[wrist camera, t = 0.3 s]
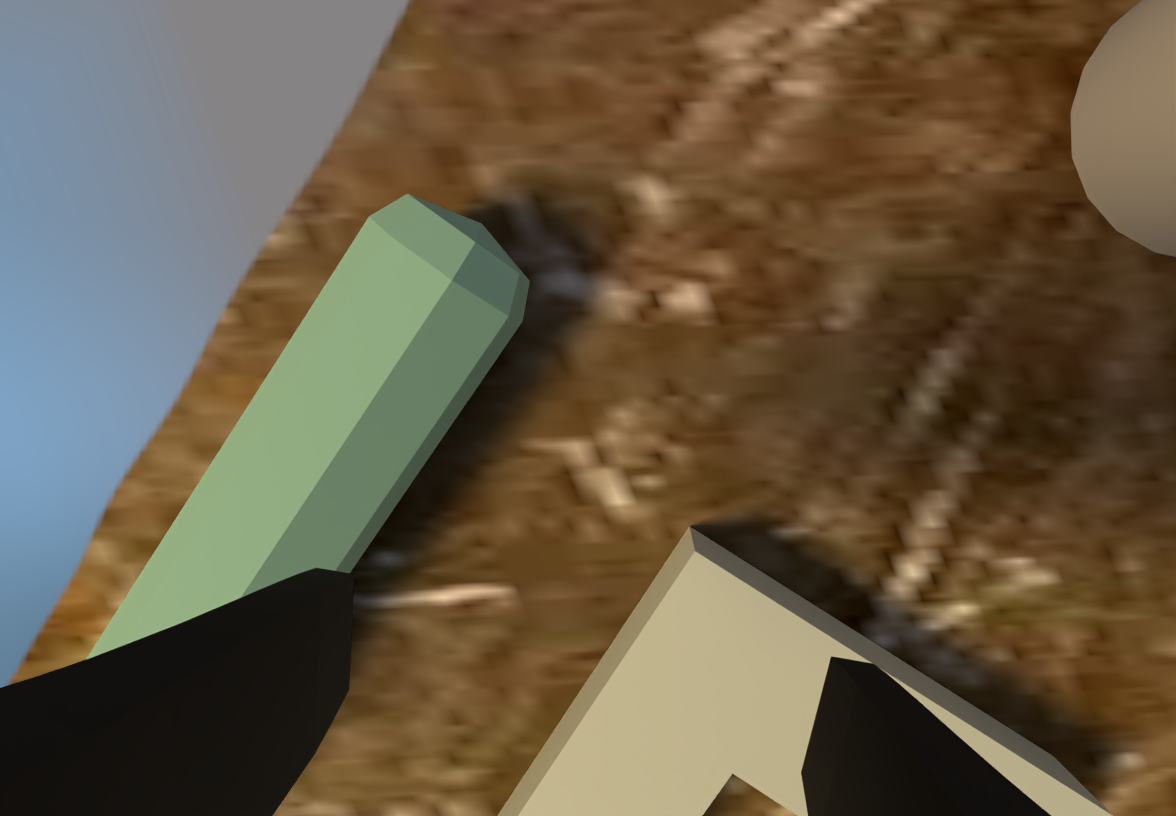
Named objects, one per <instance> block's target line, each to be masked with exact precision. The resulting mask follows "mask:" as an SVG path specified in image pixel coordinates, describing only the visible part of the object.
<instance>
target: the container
mask: <svg viewBox="0 0 1176 816" xmlns="http://www.w3.org/2000/svg"><path fill="white" fill-rule="evenodd" d="M529 283H530V281H529V279H528V278H527V277H526V276H525V275H524V273H523V272H522V271H521V270H520V269H519V268H518V266H517V265H516V264H515V263H514V262H513V260H512V259H511V258H510V257H509V256H508V254H507V253H506V252H505V251H504V250H503V248H502V247H501V246H500V245H499V244H498V242H497V241H496V240H495V239H494V238H493V236H492V235H491V234H490V233H489V232H488V230H487V229H486V228H485V227H484V226H483V224H482V223H479V222H477V221H474V220H472V219H469V218H467V217H464V216H462V215H459V214H457V213H454V212H452V211H449V210H447V209H444V208H442V207H439V206H437V205H434V204H432V203H429V202H427V201H424V200H422V199H419V198H417V197H414V196H412V195H409V194H406V195H404V196H403V197H401V198H399V199H398V200H396V201H394V202H393V203H391V204H389V205H388V206H386V207H384V208H383V209H381V210H379V211H378V212H376V213H374V214H373V215H371V216H369V218H368V219H367V221H366V222H365V224H364V225H363V227H362V229H361V230H360V232H359V233H358V235H357V236H356V238H355V239H354V241H353V243H352V244H351V246H350V247H349V249H348V250H347V252H346V254H345V255H344V257H343V258H342V260H341V261H340V263H339V264H338V266H337V268H336V269H335V271H334V272H333V274H332V275H331V277H330V279H329V280H328V282H327V283H326V285H325V286H324V288H323V290H322V291H321V293H320V294H319V296H318V297H317V299H316V300H315V302H314V304H313V305H312V307H311V308H310V310H309V311H308V313H307V315H306V316H305V318H304V319H303V321H302V322H301V324H300V325H299V327H298V329H297V330H296V332H295V333H294V335H293V336H292V338H291V340H290V341H289V343H288V344H287V346H286V347H285V349H284V350H283V352H282V354H281V355H280V357H279V358H278V360H277V361H276V363H275V365H274V366H273V368H272V369H271V371H270V372H269V374H268V375H267V377H266V379H265V380H264V382H263V383H262V385H261V386H260V388H259V390H258V391H257V393H256V394H255V396H254V397H253V399H252V401H251V402H250V404H249V405H248V407H247V408H246V410H245V411H244V413H243V415H242V416H241V418H240V419H239V421H238V422H237V424H236V426H235V427H234V429H233V430H232V432H231V433H230V435H229V436H228V438H227V440H226V441H225V443H224V444H223V446H222V447H221V449H220V451H219V452H218V454H217V455H216V457H215V458H214V460H213V461H212V463H211V465H210V466H209V468H208V469H207V471H206V472H205V474H204V476H203V477H202V479H201V480H200V482H199V483H198V485H197V487H196V488H195V490H194V491H193V493H192V494H191V496H190V497H189V499H188V501H187V502H186V504H185V505H184V507H183V508H182V510H181V512H180V513H179V515H178V516H177V518H176V519H175V521H174V522H173V524H172V526H171V527H170V529H169V530H168V532H167V533H166V535H165V537H164V538H163V540H162V541H161V543H160V544H159V546H158V547H157V549H156V551H155V552H154V554H153V555H152V557H151V558H150V560H149V562H148V563H147V565H146V566H145V568H144V569H143V571H142V572H141V574H140V576H139V577H138V579H137V580H136V582H135V583H134V585H133V587H132V588H131V590H130V591H129V593H128V594H127V596H126V598H125V599H124V601H123V602H122V604H121V605H120V607H119V608H118V610H117V612H116V613H115V615H114V616H113V618H112V619H111V621H110V623H109V624H108V626H107V627H106V629H105V630H104V632H103V633H102V635H101V637H100V638H99V640H98V641H97V643H96V644H95V646H94V648H93V649H92V651H91V652H90V654H89V655H88V657H87V658H86V659H89V658H92V657H95V656H97V655H100V654H102V653H105V652H107V651H110V650H113V649H115V648H118V647H120V646H123V645H126V644H128V643H131V642H133V641H136V640H138V639H141V638H144V637H146V636H149V635H151V634H154V633H157V632H159V631H162V630H164V629H167V628H169V627H172V626H175V625H177V624H180V623H182V622H184V621H187V620H189V619H192V618H194V617H196V616H199V615H201V614H203V613H206V612H208V611H210V610H213V609H215V608H218V607H220V606H222V605H225V604H227V603H229V602H232V601H234V600H236V599H239V598H241V597H243V596H246V595H248V594H250V593H253V592H255V591H257V590H260V589H262V588H265V587H267V586H269V585H272V584H274V583H276V582H279V581H281V580H284V579H286V578H289V577H291V576H294V575H296V574H299V573H302V572H304V571H308V570H311V569H314V568H322V569H327V570H333V571H339V572H345V573H350V572H351V571H352V569H353V568H354V566H355V565H356V563H357V562H358V561H359V559H360V558H361V556H362V555H363V553H364V552H365V550H366V549H367V547H368V546H369V544H370V543H371V542H372V540H373V539H374V537H375V536H376V534H377V533H378V531H379V530H380V528H381V527H382V526H383V524H384V523H385V521H386V520H387V518H388V517H389V515H390V514H391V512H392V511H393V509H394V508H395V507H396V505H397V504H398V502H399V501H400V499H401V498H402V496H403V495H404V493H405V492H406V491H407V489H408V488H409V486H410V485H411V483H412V482H413V480H414V479H415V477H416V476H417V475H418V473H419V472H420V470H421V469H422V467H423V466H424V464H425V463H426V461H427V460H428V458H429V457H430V456H431V454H432V453H433V451H434V450H435V448H436V447H437V445H438V444H439V442H440V441H441V440H442V438H443V437H444V435H445V434H446V432H447V431H448V429H449V428H450V426H451V425H452V423H453V422H454V421H455V419H456V418H457V416H458V415H459V413H460V412H461V410H462V409H463V407H464V406H465V405H466V403H467V402H468V400H469V399H470V397H471V396H472V394H473V393H474V391H475V390H476V389H477V387H478V386H479V384H480V383H481V381H482V380H483V378H484V377H485V375H486V374H487V372H488V371H489V370H490V368H491V367H492V365H493V364H494V362H495V361H496V359H497V358H498V356H499V355H500V354H501V352H502V351H503V349H504V348H505V346H506V345H507V343H508V342H509V340H510V339H511V337H512V336H513V335H514V333H515V332H516V330H517V329H518V327H519V326H520V324H521V323H522V321H523V316H524V311H525V305H526V300H527V294H528V289H529Z"/></svg>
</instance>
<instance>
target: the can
mask: <svg viewBox="0 0 1176 816" xmlns="http://www.w3.org/2000/svg"><path fill="white" fill-rule="evenodd" d="M1071 141H1072V159H1073V161H1074V164H1075V166H1076V169H1077V171H1078V174H1079V177H1080V179H1081V182H1082V184H1083V187H1084V189H1085V192H1086V195H1087V197H1088V199H1089V200H1090V201H1091V202H1092V203H1093V204H1094V206H1095V207H1096V208H1097V209H1098V210H1099V211H1100V213H1101V214H1102V215H1103V216H1104V217H1105V218H1106V219H1107V221H1108V222H1109V223H1110V224H1111V225H1112V226H1113V227H1114V229H1115V230H1116V231H1118V232H1120V233H1121V234H1123V235H1125V236H1127V237H1128V238H1130V239H1132V240H1134V241H1135V242H1137V243H1139V244H1141V245H1143V246H1144V247H1146V248H1148V249H1150V250H1151V251H1153V252H1155V253H1159V254H1164V255H1169V256H1174V257H1176V0H1141V1H1140V2H1139V3H1138V4H1137V5H1135V6H1134V7H1133V8H1132V9H1131V10H1130V11H1128V12H1127V13H1126V14H1125V15H1124V16H1123V17H1121V18H1120V19H1119V20H1118V21H1117V22H1116V23H1114V24H1113V25H1112V26H1111V27H1110V29H1109V30H1108V32H1107V33H1106V35H1105V36H1104V38H1103V39H1102V41H1101V42H1100V44H1099V45H1098V47H1097V48H1096V50H1095V51H1094V53H1093V54H1092V56H1091V57H1090V59H1089V60H1088V62H1087V63H1086V65H1085V66H1084V69H1083V72H1082V75H1081V79H1080V82H1079V86H1078V89H1077V92H1076V96H1075V99H1074V103H1073V106H1072V109H1071Z"/></svg>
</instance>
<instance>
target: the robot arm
mask: <svg viewBox="0 0 1176 816" xmlns="http://www.w3.org/2000/svg"><path fill="white" fill-rule="evenodd" d="M353 595H354V574H351V573H345V572H339V571H333V570H327V569H322V568H314V569H311V570H308V571H304V572H302V573H299V574H296V575H294V576H291V577H289V578H286V579H284V580H281V581H279V582H276V583H274V584H272V585H269V586H267V587H265V588H262V589H260V590H257V591H255V592H253V593H250V594H248V595H246V596H243V597H241V598H239V599H236V600H234V601H232V602H229V603H227V604H225V605H222V606H220V607H218V608H215V609H213V610H210V611H208V612H206V613H203V614H201V615H199V616H196V617H194V618H192V619H189V620H187V621H184V622H182V623H180V624H177V625H175V626H172V627H169V628H167V629H164V630H162V631H159V632H157V633H154V634H151V635H149V636H146V637H144V638H141V639H138V640H136V641H133V642H131V643H128V644H126V645H123V646H120V647H118V648H115V649H113V650H110V651H107V652H105V653H102V654H100V655H97V656H95V657H92V658H89V659H86V660H83V661H81V662H78V663H75V664H72V665H69V666H67V667H64V668H61V669H58V670H55V671H52V672H49V673H46V674H43V675H40V676H37V677H34V678H31V679H27V680H24V681H21V682H18V683H15V684H12V685H8V686H5V687H2V688H0V816H272V815H273V814H274V812H275V811H276V810H277V808H278V807H279V805H280V804H281V802H282V801H283V799H284V798H285V797H286V795H287V794H288V792H289V791H290V789H291V788H292V786H293V785H294V783H295V782H296V781H297V779H298V778H299V776H300V775H301V773H302V772H303V770H304V769H305V767H306V766H307V764H308V763H309V761H310V760H311V759H312V757H313V756H314V754H315V753H316V751H317V749H318V747H319V745H320V743H321V742H322V740H323V738H324V736H325V734H326V733H327V731H328V729H329V727H330V725H331V723H332V721H333V720H334V718H335V716H336V714H337V712H338V710H339V708H340V706H341V704H342V702H343V700H344V698H345V696H346V694H347V692H348V690H349V679H350V658H351V637H352V616H353ZM801 776H802V782H803V788H804V794H805V800H806V806H807V812H808V816H1051V815H1050V814H1049V813H1047V812H1046V811H1045V810H1044V809H1042V808H1041V807H1040V806H1039V805H1038V804H1036V803H1035V802H1034V801H1033V800H1032V799H1031V798H1029V797H1028V796H1027V795H1026V794H1025V793H1023V792H1022V791H1021V790H1020V789H1019V788H1017V787H1016V786H1015V785H1014V784H1013V783H1012V782H1010V781H1009V780H1008V779H1007V778H1006V777H1005V776H1003V775H1002V774H1001V773H1000V772H999V771H998V770H996V769H995V768H994V767H993V766H992V765H991V764H989V763H988V762H987V761H986V760H985V759H984V758H983V757H981V756H980V755H979V754H978V753H977V752H976V751H975V750H973V749H972V748H971V747H970V746H969V745H968V744H967V743H965V742H964V741H963V740H962V739H961V738H960V737H959V736H958V735H956V734H955V733H954V732H953V731H952V730H951V729H950V728H949V727H947V726H946V725H945V724H944V723H943V722H942V721H941V720H940V719H938V718H937V717H936V716H935V715H934V714H933V713H932V712H931V711H929V710H928V709H927V708H926V707H925V706H924V705H923V704H922V703H920V702H919V701H918V700H917V699H916V698H915V697H914V696H912V695H911V694H910V693H909V692H908V691H907V690H906V689H904V688H903V687H902V686H901V685H900V684H899V683H897V682H896V681H895V680H894V679H893V678H891V677H890V676H889V675H888V674H887V673H885V672H884V671H883V670H881V669H880V668H879V667H878V666H876V665H875V664H873V663H867V662H861V661H856V660H850V659H844V658H838V657H832V656H831V658H830V662H829V666H828V670H827V674H826V678H825V681H824V685H823V689H822V693H821V697H820V701H819V705H818V709H817V712H816V716H815V720H814V724H813V728H812V732H811V736H810V739H809V743H808V747H807V751H806V755H805V759H804V763H803V767H802V770H801Z"/></svg>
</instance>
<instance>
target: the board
mask: <svg viewBox="0 0 1176 816" xmlns="http://www.w3.org/2000/svg"><path fill="white" fill-rule="evenodd" d="M831 656H832V657H838V658H844V659H850V660H856V661H861V662H867V663H873V664H875V665H876V666H878V667H879V668H880V669H881V670H883V671H884V672H885V673H887V674H888V675H889V676H890V677H891V678H893V679H894V680H895V681H896V682H897V683H899V684H900V685H901V686H902V687H903V688H904V689H906V690H907V691H908V692H909V693H910V694H911V695H912V696H914V697H915V698H916V699H917V700H918V701H919V702H920V703H922V704H923V705H924V706H925V707H926V708H927V709H928V710H929V711H931V712H932V713H933V714H934V715H935V716H936V717H937V718H938V719H940V720H941V721H942V722H943V723H944V724H945V725H946V726H947V727H949V728H950V729H951V730H952V731H953V732H954V733H955V734H956V735H958V736H959V737H960V738H961V739H962V740H963V741H964V742H965V743H967V744H968V745H969V746H970V747H971V748H972V749H973V750H975V751H976V752H977V753H978V754H979V755H980V756H981V757H983V758H984V759H985V760H986V761H987V762H988V763H989V764H991V765H992V766H993V767H994V768H995V769H996V770H998V771H999V772H1000V773H1001V774H1002V775H1003V776H1005V777H1006V778H1007V779H1008V780H1009V781H1010V782H1012V783H1013V784H1014V785H1015V786H1016V787H1017V788H1019V789H1020V790H1021V791H1022V792H1023V793H1025V794H1026V795H1027V796H1028V797H1029V798H1031V799H1032V800H1033V801H1034V802H1035V803H1036V804H1038V805H1039V806H1040V807H1041V808H1042V809H1044V810H1045V811H1046V812H1047V813H1049V814H1050V815H1051V816H1113V815H1112V814H1111V813H1110V812H1109V811H1108V810H1107V809H1106V808H1105V807H1104V806H1103V805H1102V804H1101V803H1100V802H1099V801H1098V800H1097V799H1096V798H1095V797H1094V796H1093V795H1092V794H1091V793H1090V792H1089V791H1088V790H1087V789H1086V788H1085V787H1084V786H1083V785H1082V784H1081V783H1080V782H1079V781H1078V780H1077V779H1076V778H1075V777H1074V776H1073V775H1072V774H1071V773H1070V772H1069V771H1068V770H1067V769H1066V768H1065V767H1064V766H1063V765H1062V764H1061V763H1060V762H1059V761H1058V760H1057V759H1056V758H1055V757H1054V756H1052V755H1051V754H1049V753H1048V752H1046V751H1045V750H1043V749H1041V748H1040V747H1038V746H1037V745H1035V744H1033V743H1032V742H1030V741H1029V740H1027V739H1026V738H1024V737H1022V736H1021V735H1019V734H1018V733H1016V732H1014V731H1013V730H1011V729H1010V728H1008V727H1007V726H1005V725H1003V724H1002V723H1000V722H999V721H997V720H995V719H994V718H992V717H991V716H989V715H988V714H986V713H984V712H983V711H981V710H980V709H978V708H976V707H975V706H973V705H972V704H970V703H969V702H967V701H965V700H964V699H962V698H961V697H959V696H957V695H956V694H954V693H953V692H951V691H950V690H948V689H946V688H945V687H943V686H942V685H940V684H938V683H937V682H935V681H934V680H932V679H931V678H929V677H927V676H926V675H924V674H923V673H921V672H919V671H918V670H916V669H915V668H913V667H912V666H910V665H908V664H907V663H905V662H904V661H902V660H900V659H899V658H897V657H896V656H894V655H893V654H891V653H889V652H888V651H886V650H885V649H883V648H881V647H880V646H878V645H877V644H875V643H874V642H872V641H870V640H869V639H867V638H866V637H864V636H862V635H861V634H859V633H858V632H856V631H855V630H853V629H851V628H850V627H848V626H847V625H845V624H843V623H842V622H840V621H839V620H837V619H836V618H834V617H832V616H831V615H829V614H828V613H826V612H824V611H823V610H821V609H820V608H818V607H817V606H815V605H813V604H812V603H810V602H809V601H807V600H805V599H804V598H802V597H801V596H799V595H798V594H796V593H794V592H793V591H791V590H790V589H788V588H786V587H785V586H783V585H782V584H780V583H779V582H777V581H775V580H774V579H772V578H771V577H769V576H767V575H766V574H764V573H763V572H761V571H760V570H758V569H756V568H755V567H753V566H752V565H750V564H748V563H747V562H745V561H744V560H742V559H741V558H739V557H737V556H736V555H734V554H733V553H731V552H729V551H728V550H726V549H725V548H723V547H722V546H720V545H718V544H717V543H715V542H714V541H712V540H710V539H709V538H707V537H706V536H704V535H703V534H701V533H699V532H698V531H696V530H695V529H693V528H691V527H690V526H689V527H688V529H687V530H686V532H685V534H684V535H683V537H682V538H681V540H680V541H679V543H678V544H677V546H676V547H675V549H674V550H673V552H672V553H671V555H670V556H669V558H668V559H667V561H666V562H665V564H664V565H663V567H662V568H661V570H660V571H659V573H658V574H657V576H656V577H655V579H654V580H653V582H652V583H651V585H650V586H649V588H648V589H647V591H646V592H645V594H644V595H643V597H642V598H641V600H640V601H639V603H638V604H637V606H636V607H635V609H634V610H633V612H632V613H631V615H630V616H629V618H628V619H627V621H626V622H625V624H624V625H623V627H622V628H621V630H620V632H619V633H618V635H617V636H616V638H615V639H614V641H613V642H612V644H611V645H610V647H609V648H608V650H607V651H606V653H605V654H604V656H603V657H602V659H601V660H600V662H599V663H598V665H597V666H596V668H595V669H594V671H593V672H592V674H591V675H590V677H589V678H588V680H587V681H586V683H585V684H584V686H583V687H582V689H581V690H580V692H579V693H578V695H577V696H576V698H575V699H574V701H573V702H572V704H571V705H570V707H569V708H568V710H567V711H566V713H565V714H564V716H563V717H562V719H561V720H560V722H559V723H558V725H557V727H556V728H555V730H554V731H553V733H552V734H551V736H550V737H549V739H548V740H547V742H546V743H545V745H544V746H543V748H542V749H541V751H540V752H539V754H538V755H537V757H536V758H535V760H534V761H533V763H532V764H531V766H530V767H529V769H528V770H527V772H526V773H525V775H524V776H523V778H522V779H521V781H520V782H519V784H518V785H517V787H516V788H515V790H514V791H513V793H512V794H511V796H510V797H509V799H508V800H507V802H506V803H505V805H504V806H503V808H502V809H501V811H500V812H499V814H498V815H497V816H702V815H703V814H704V813H705V811H706V810H707V808H708V807H709V806H710V804H711V803H712V801H713V800H714V799H715V797H716V796H717V794H718V793H719V792H720V790H721V789H722V788H723V786H724V785H725V783H726V782H727V781H728V779H729V778H730V776H731V775H732V774H734V775H736V776H737V777H739V778H740V779H742V780H743V781H745V782H747V783H748V784H750V785H751V786H753V787H754V788H756V789H757V790H759V791H760V792H762V793H764V794H765V795H767V796H768V797H770V798H771V799H773V800H774V801H776V802H777V803H779V804H781V805H782V806H784V807H785V808H787V809H788V810H790V811H791V812H793V813H794V814H796V815H798V816H808V812H807V806H806V800H805V794H804V788H803V782H802V776H801V770H802V767H803V763H804V759H805V755H806V751H807V747H808V743H809V739H810V736H811V732H812V728H813V724H814V720H815V716H816V712H817V709H818V705H819V701H820V697H821V693H822V689H823V685H824V681H825V678H826V674H827V670H828V666H829V662H830V658H831Z"/></svg>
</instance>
